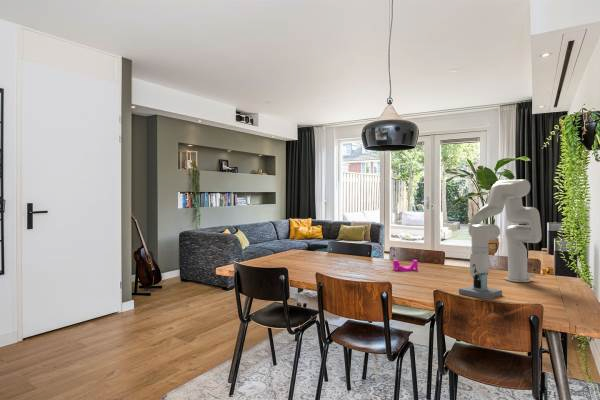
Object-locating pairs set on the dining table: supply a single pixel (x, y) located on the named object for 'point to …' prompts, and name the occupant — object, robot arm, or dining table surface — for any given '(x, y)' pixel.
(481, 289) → the peg
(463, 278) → the dining table surface
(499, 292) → the socket
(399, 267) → the toy block
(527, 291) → the dining table surface
